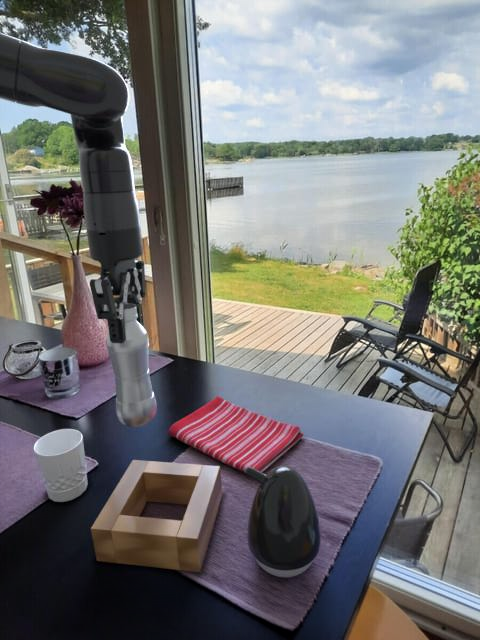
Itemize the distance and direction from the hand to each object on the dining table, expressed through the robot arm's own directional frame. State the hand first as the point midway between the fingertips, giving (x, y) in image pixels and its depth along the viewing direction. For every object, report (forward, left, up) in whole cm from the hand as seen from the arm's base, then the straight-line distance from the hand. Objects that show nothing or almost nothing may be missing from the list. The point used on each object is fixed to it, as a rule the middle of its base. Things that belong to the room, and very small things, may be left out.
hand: (127, 334), depth 68 cm
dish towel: (+13, +17, -30) cm, 37 cm away
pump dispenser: (+25, -12, -30) cm, 40 cm away
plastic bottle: (0, 0, -16) cm, 16 cm away
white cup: (-14, -2, -30) cm, 33 cm away
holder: (+6, -8, -29) cm, 31 cm away
